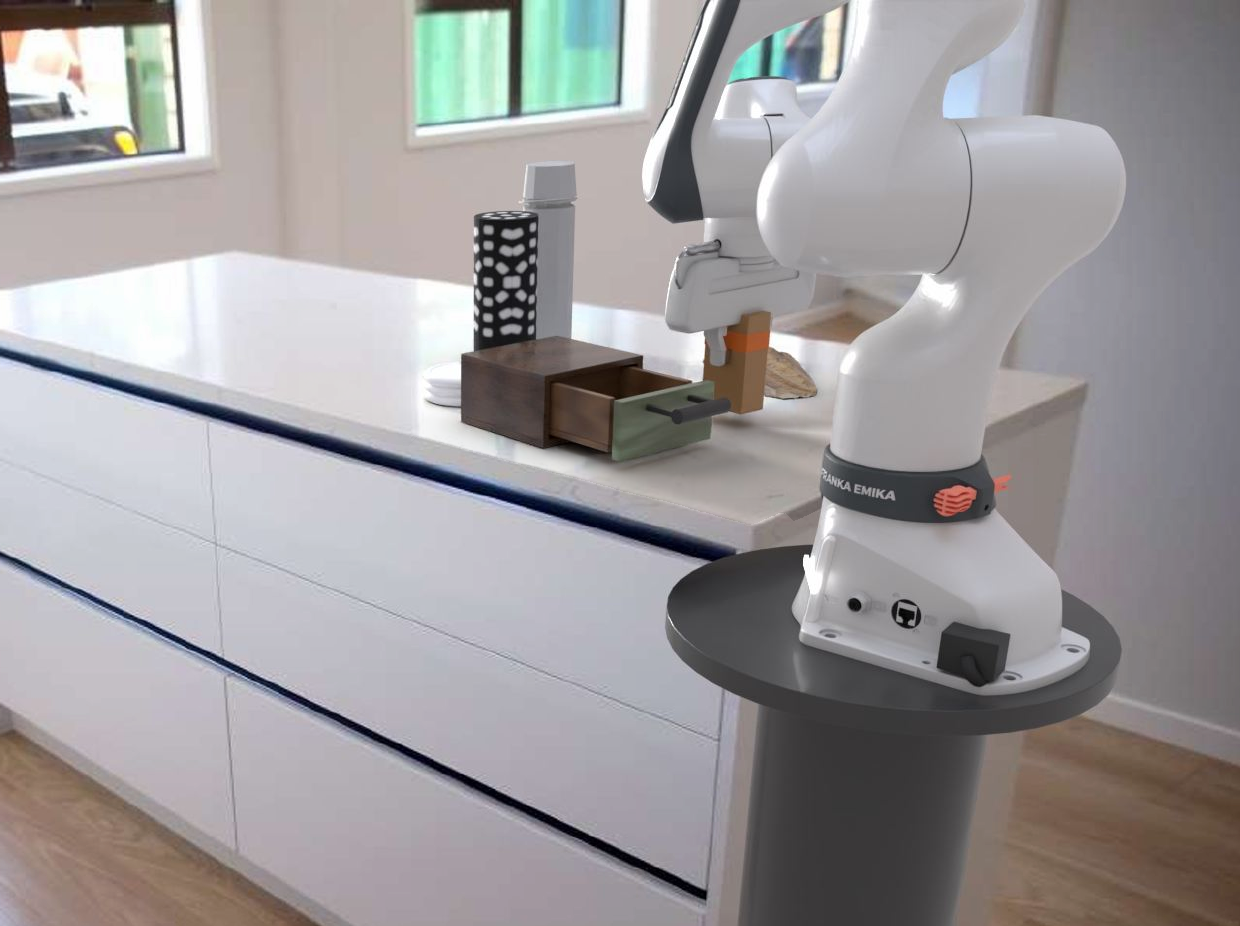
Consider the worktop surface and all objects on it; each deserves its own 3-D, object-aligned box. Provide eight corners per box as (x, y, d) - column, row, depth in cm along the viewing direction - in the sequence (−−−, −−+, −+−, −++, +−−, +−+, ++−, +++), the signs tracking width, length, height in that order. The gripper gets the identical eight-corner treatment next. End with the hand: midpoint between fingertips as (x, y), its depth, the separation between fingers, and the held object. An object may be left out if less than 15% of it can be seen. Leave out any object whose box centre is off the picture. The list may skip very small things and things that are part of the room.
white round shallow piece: (408, 401, 176) (407, 373, 175) (453, 384, 183) (453, 357, 182) (475, 411, 170) (475, 383, 169) (519, 393, 177) (519, 366, 176)
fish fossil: (850, 394, 171) (850, 385, 170) (769, 407, 170) (769, 398, 169) (757, 345, 194) (757, 337, 193) (686, 356, 193) (686, 348, 192)
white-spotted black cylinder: (547, 365, 191) (550, 212, 183) (513, 378, 185) (516, 221, 177) (495, 358, 196) (496, 209, 188) (461, 370, 190) (461, 217, 182)
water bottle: (582, 349, 199) (588, 164, 189) (529, 354, 197) (533, 168, 188) (556, 336, 207) (560, 158, 197) (505, 341, 206) (507, 162, 196)
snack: (763, 409, 160) (772, 312, 155) (741, 415, 158) (748, 316, 154) (722, 399, 164) (729, 304, 160) (700, 404, 163) (706, 308, 158)
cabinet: (640, 425, 162) (643, 355, 159) (542, 448, 155) (544, 375, 152) (554, 401, 174) (556, 335, 170) (460, 421, 167) (460, 353, 163)
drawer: (748, 449, 148) (753, 390, 146) (656, 473, 142) (660, 412, 140) (622, 414, 163) (624, 360, 161) (533, 435, 157) (534, 379, 154)
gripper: (699, 249, 146) (690, 381, 152) (831, 228, 156) (818, 352, 161) (655, 243, 151) (648, 370, 157) (785, 222, 161) (774, 343, 166)
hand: (735, 361), depth 159 cm, fingers closed on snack, 4 cm apart
